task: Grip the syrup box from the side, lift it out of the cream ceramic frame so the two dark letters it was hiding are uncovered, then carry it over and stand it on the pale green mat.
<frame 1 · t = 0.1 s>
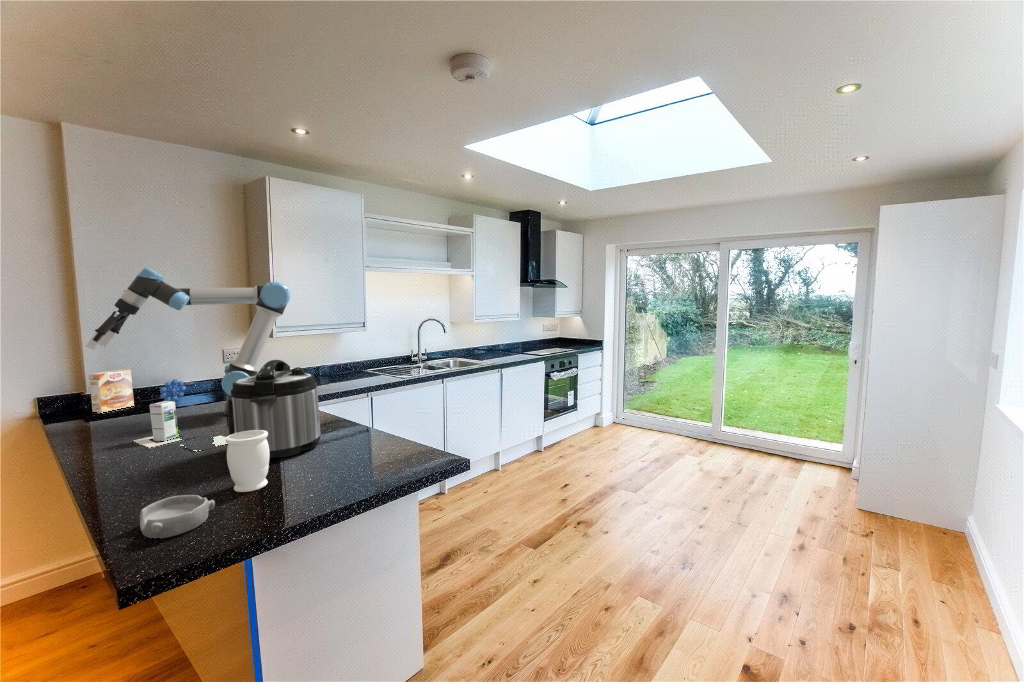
hand: (95, 346, 186), 36 cm above the countertop, tool tilted 35°, fingers open, 13 cm apart
grapes: (173, 401, 251), on the countertop
dish: (177, 526, 110), on the countertop
syrup box: (166, 439, 180), resting in code frame
jar: (251, 487, 132), on the countertop
coffeecake box: (114, 410, 234), on the countertop
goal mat: (209, 444, 172), on the countertop
pressure cooker: (277, 450, 164), on the countertop
code frame: (166, 439, 180), on the countertop
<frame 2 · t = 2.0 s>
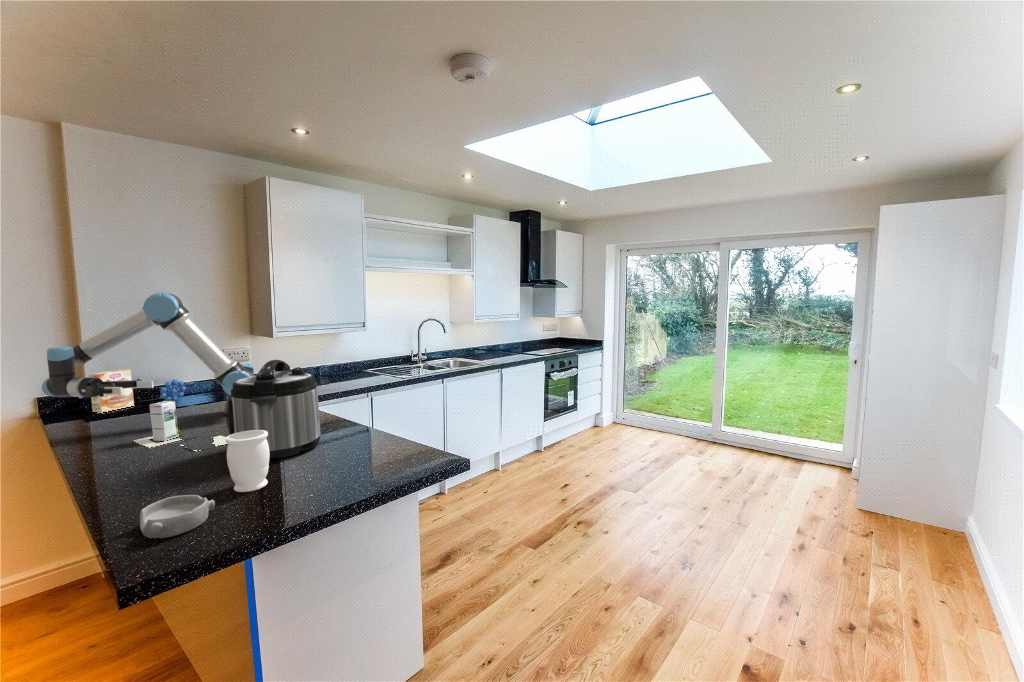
hand: (137, 387, 179), 20 cm above the countertop, tool horizontal, fingers open, 13 cm apart
nothing on the countertop moved.
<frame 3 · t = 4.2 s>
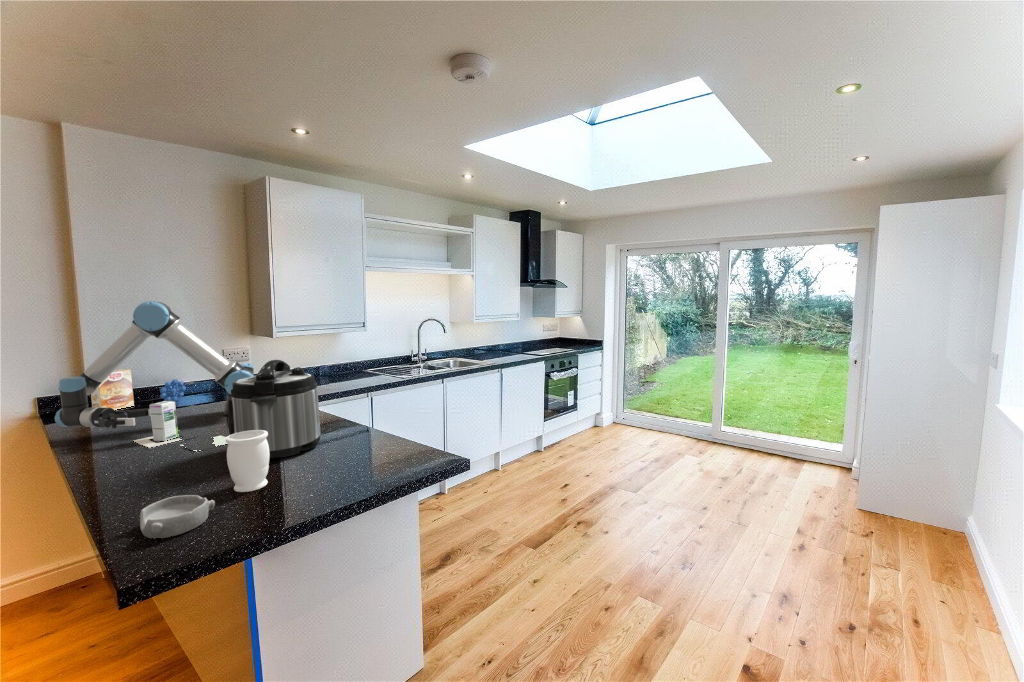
hand: (150, 417, 179), 9 cm above the countertop, tool horizontal, fingers open, 13 cm apart
nothing on the countertop moved.
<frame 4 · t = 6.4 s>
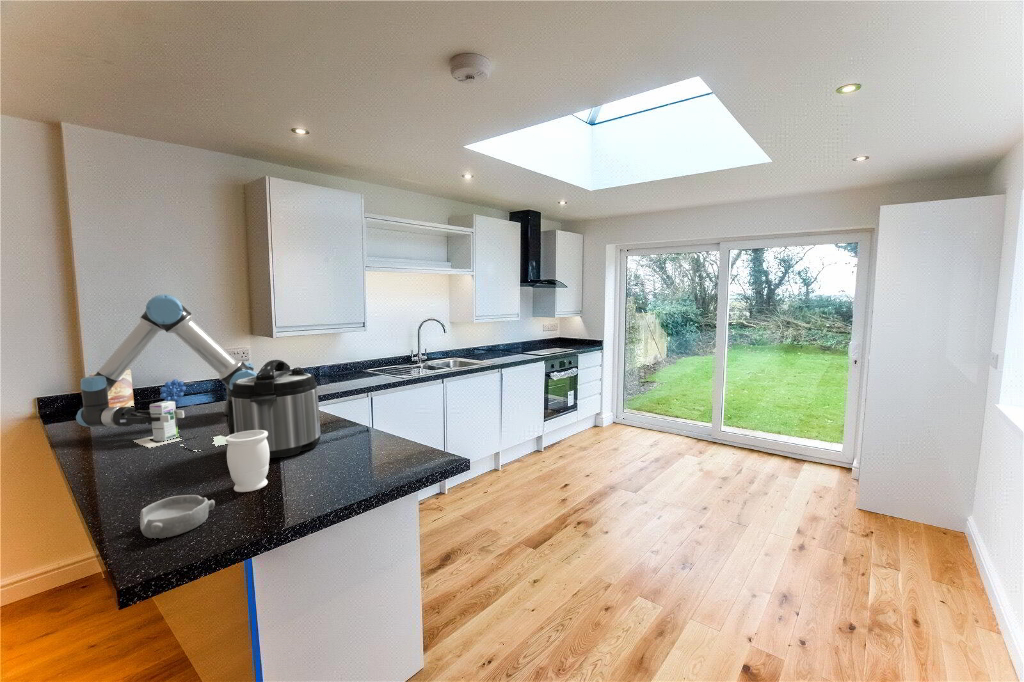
hand: (176, 416, 179), 9 cm above the countertop, tool horizontal, fingers closed on syrup box, 6 cm apart
syrup box: (166, 439, 180), resting in code frame, touching gripper
everything else where it was.
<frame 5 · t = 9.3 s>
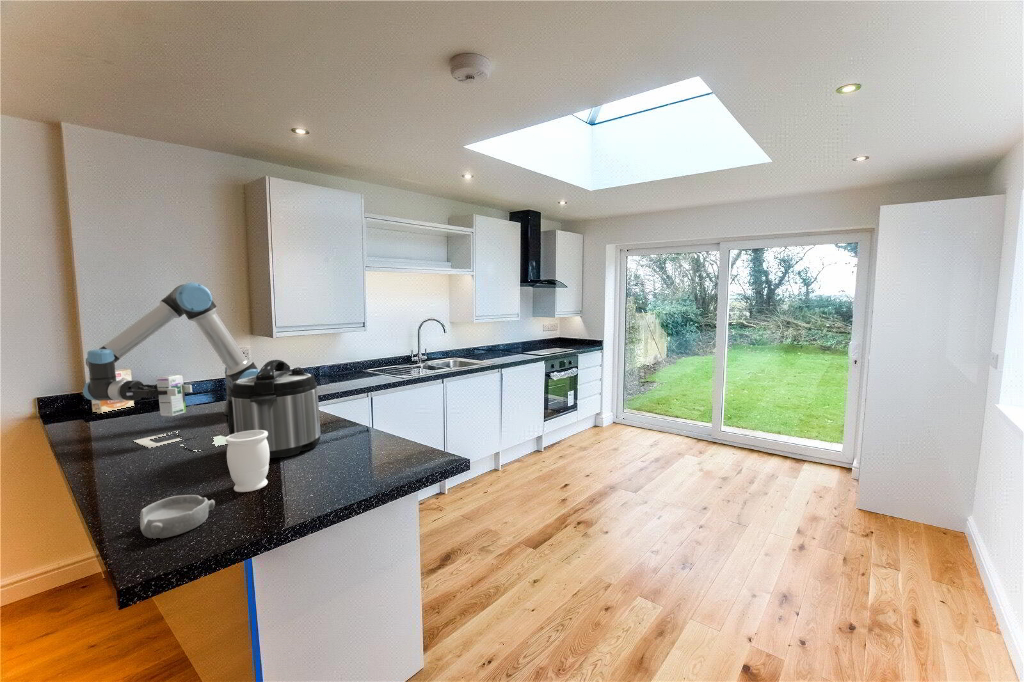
hand: (183, 390, 173), 20 cm above the countertop, tool horizontal, fingers closed on syrup box, 6 cm apart
syrup box: (173, 414, 175), point 11 cm above the countertop, touching gripper
everything else where it was.
when the fingers open (10 cm above the countertop, at t = 12.4 s): syrup box stays where it is, resting on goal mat.
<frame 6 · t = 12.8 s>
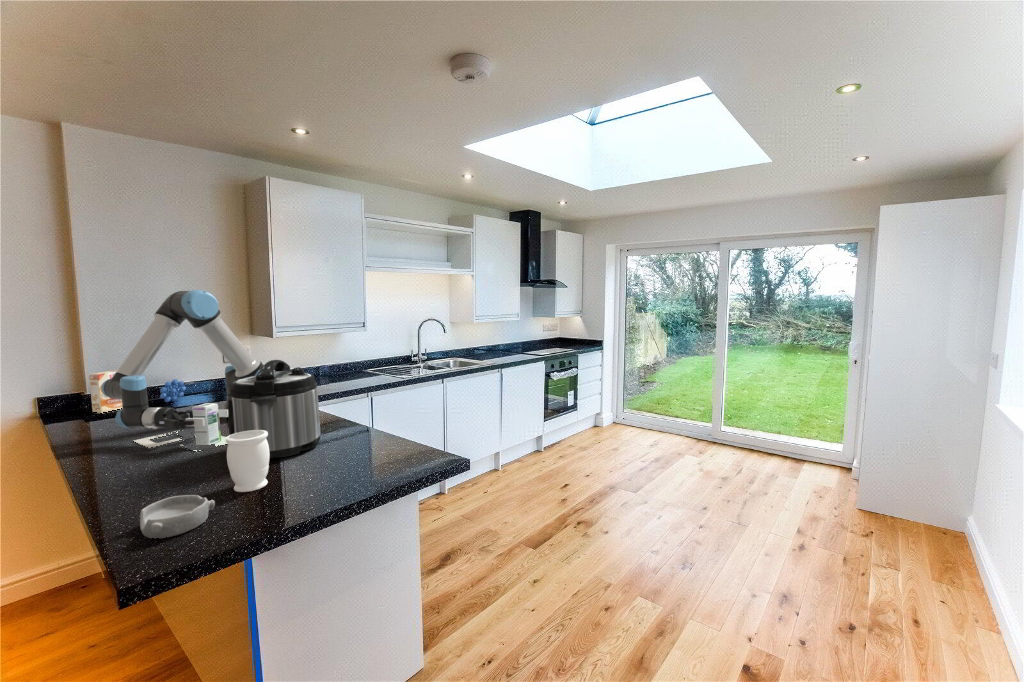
hand: (216, 417, 171), 10 cm above the countertop, tool horizontal, fingers open, 12 cm apart
syrup box: (208, 443, 172), resting on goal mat
everything else where it was.
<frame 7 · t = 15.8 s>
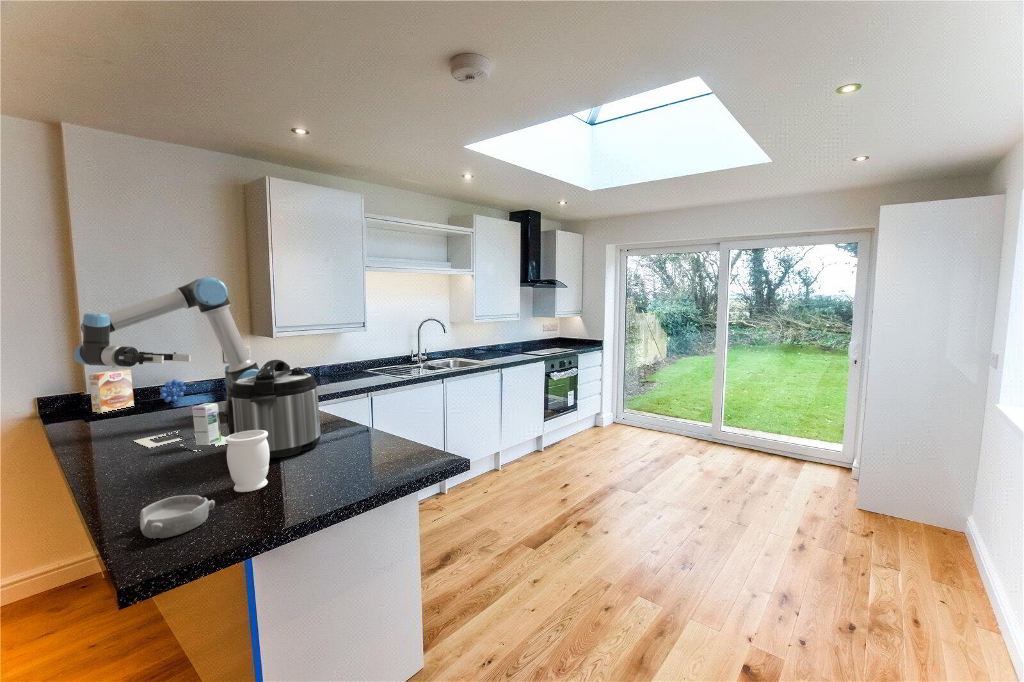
hand: (177, 358, 174), 32 cm above the countertop, tool horizontal, fingers open, 13 cm apart
nothing on the countertop moved.
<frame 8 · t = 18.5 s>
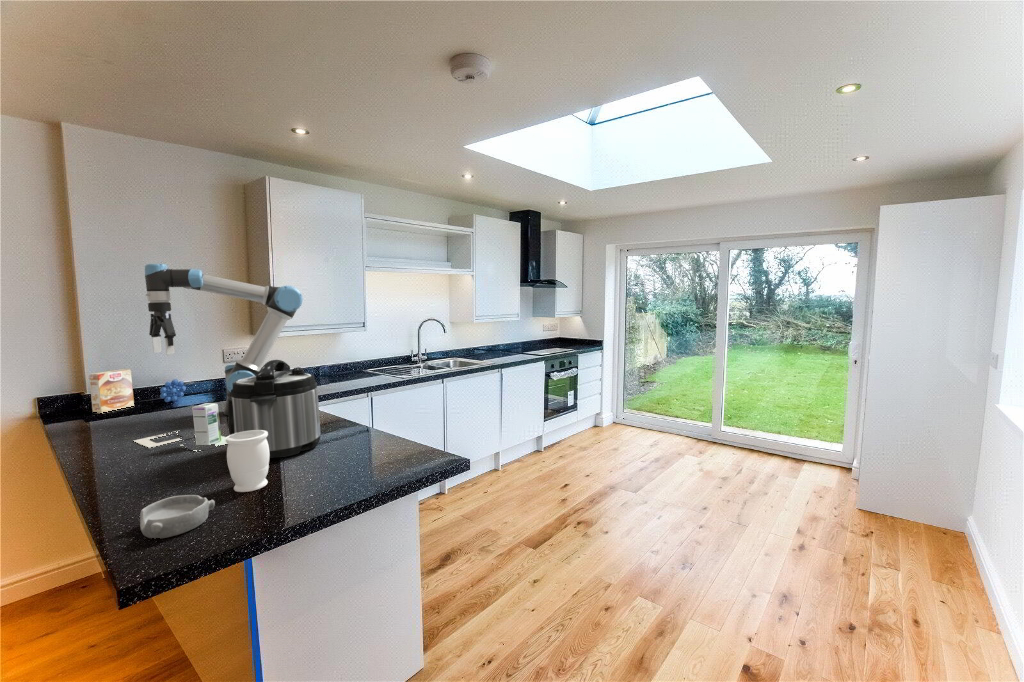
hand: (164, 353, 194), 32 cm above the countertop, tool pointing down, fingers open, 13 cm apart
nothing on the countertop moved.
at the end: syrup box inside the target area on the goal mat (0.1 cm from its centre), point 0.2 cm above the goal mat's base; syrup box tilted 0°; syrup box moved 22.8 cm from its start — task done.
